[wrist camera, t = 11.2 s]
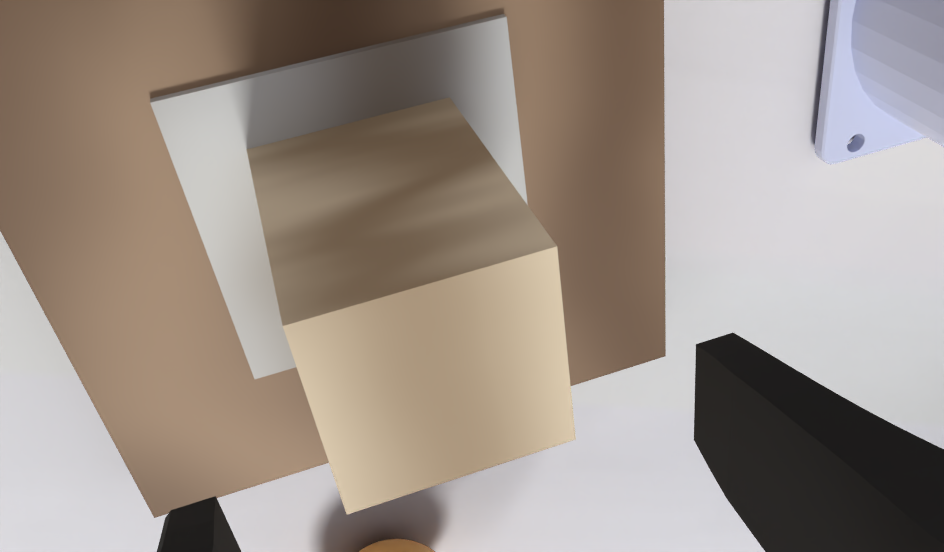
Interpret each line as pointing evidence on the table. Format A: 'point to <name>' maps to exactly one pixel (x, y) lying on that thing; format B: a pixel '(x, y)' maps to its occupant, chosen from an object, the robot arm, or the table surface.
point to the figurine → (396, 546)
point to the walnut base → (235, 205)
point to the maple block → (414, 301)
